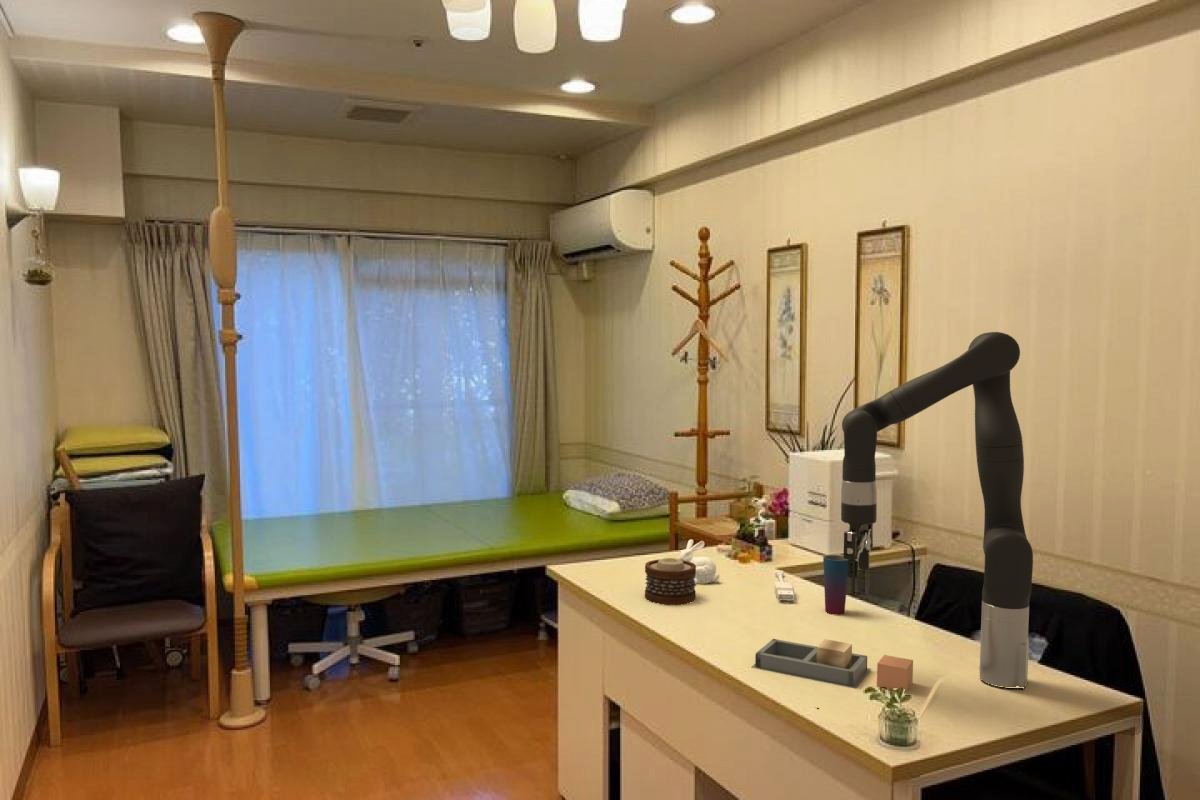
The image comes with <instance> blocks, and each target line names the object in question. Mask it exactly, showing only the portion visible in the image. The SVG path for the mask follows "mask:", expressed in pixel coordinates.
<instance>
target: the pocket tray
mask: <svg viewBox="0 0 1200 800" xmlns="http://www.w3.org/2000/svg"><path fill="white" fill-rule="evenodd" d="M751 668H753V669H757V670H762V671H767V672H773V673H778V674H782V675H786V676H787V675H788V676H792V677H796V678H801V679H808V680H812V681H816V682H821V683H826V684H832V685H836V686H842V687H845V688H846V687H847V688H851V689H856V688H857V687H858V686H859V685H860V684H861V682H862V681H863V680H864V679H865V677H866V676H867V675H868V674H869V672H871V670H872V668H869V667H868V655H865V654H858V653H853V652H852V667H851V668H850V669H845V668H839V667H834V666H829V665H824V664H819V663H817V646H815V645H809V644H805V643H798V642H793V641H787V640H784V639H783V640H781V639H776V638H772V639H771V640H770V641H769V642H767V643H766V644H765V645H764V646H762V647H761V648H760V649H759V650H757V652H755V661H754V664H753V665H751Z"/></svg>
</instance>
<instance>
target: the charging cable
mask: <svg viewBox="0 0 1200 800" xmlns="http://www.w3.org/2000/svg"><path fill="white" fill-rule="evenodd" d="M783 576H784V577H785V573H784V571H783V570H775V571H774V577H775V578H778V581H775V582H774V595H775V598H776V599H777V600H778V601H795V588H794V585H793V583H792V582H790V581H789V582H786V581H785V582H784V577H783Z"/></svg>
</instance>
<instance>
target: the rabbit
mask: <svg viewBox="0 0 1200 800" xmlns="http://www.w3.org/2000/svg"><path fill="white" fill-rule="evenodd" d="M694 543H695V542H694V539H689V540H688V541H687V544H686V548H685V549H682V550H680V555H679V558H678V559H679V560H684V561H689V562H691V563H694V564H695V565H696V574H695V575H696V576H695V578H693V579H694V580H695V584H696V585H698V584H699V585H701V584H702V585H707V584H711V583H714V582H717V581H718V580H719V579H720V577H721V576H720V573H718V572H717V566H716V563H715V562H714V560H713V559H711V558H710V557H708V556H700V557H698V556H694V554H693V553H694V552H697V551H699V550H701V549H703V548H704V547H705V545H706V543H705V542H704V540H700V541H699V542H697V543H695V544H694Z"/></svg>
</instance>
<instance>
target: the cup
mask: <svg viewBox="0 0 1200 800" xmlns="http://www.w3.org/2000/svg"><path fill="white" fill-rule="evenodd" d="M843 555H844V554H825V555H823V557H822V560H823V561H822V562H823V583H824V584H823V585H824V589H823V590H824V609H825V610H824V611H825V613H826V612H827V613H826V614H828V613H829V615H832V614H838V615H837V616H842V615H844V614H846V613H845V611H846V603H847V602H846V598H847V590H848V589H847V588H848V578H849V577H848V576H847V560H846V559H844V557H843ZM841 614H842V615H841Z"/></svg>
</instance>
